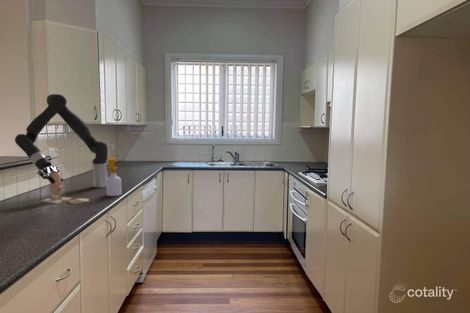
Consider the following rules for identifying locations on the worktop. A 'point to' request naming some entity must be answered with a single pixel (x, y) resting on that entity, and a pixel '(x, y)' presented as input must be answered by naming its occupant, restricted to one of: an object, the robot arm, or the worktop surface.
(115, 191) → the soap bottle
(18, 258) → the worktop surface
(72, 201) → the mat
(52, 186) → the lidded jar
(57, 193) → the white display stand
